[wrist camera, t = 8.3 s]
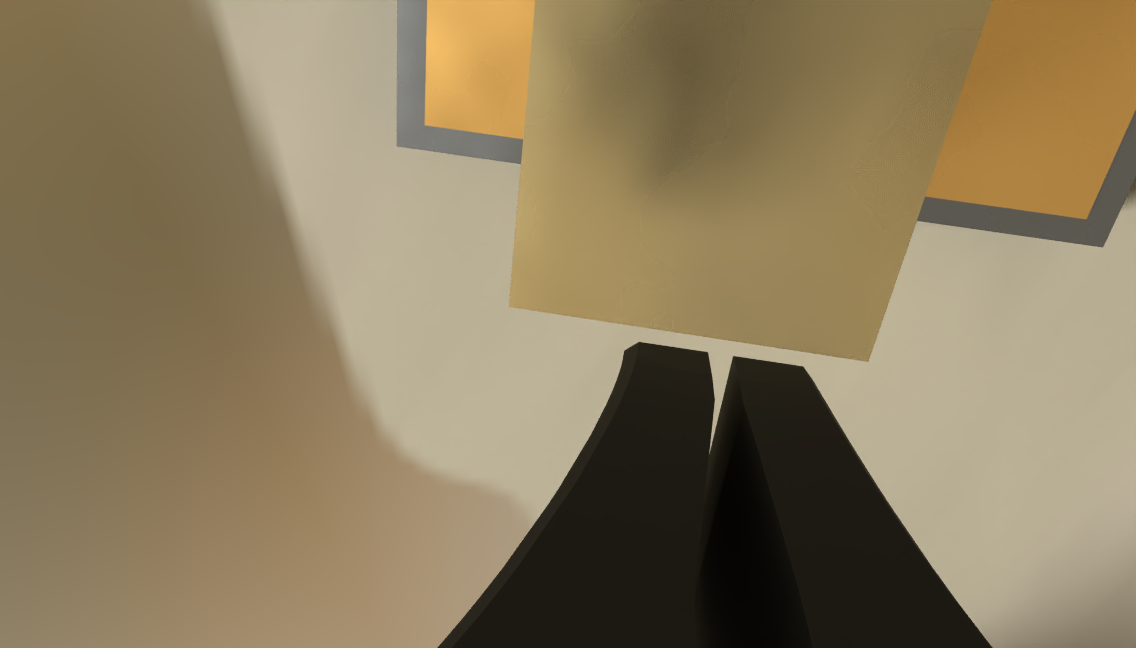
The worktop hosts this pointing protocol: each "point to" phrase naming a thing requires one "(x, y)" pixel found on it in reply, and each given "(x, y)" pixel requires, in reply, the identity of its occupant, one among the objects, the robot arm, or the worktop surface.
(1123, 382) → the worktop surface
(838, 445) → the robot arm
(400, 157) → the worktop surface
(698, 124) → the clip nut
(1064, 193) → the grey and orange tray
